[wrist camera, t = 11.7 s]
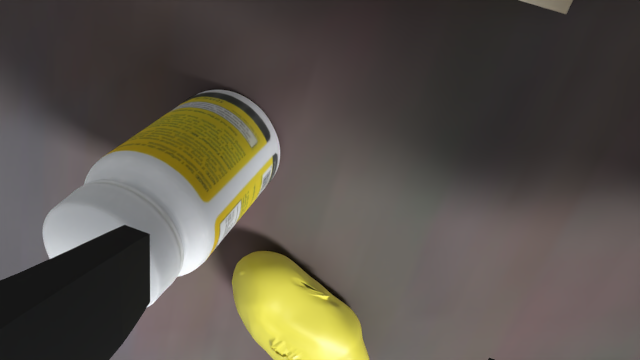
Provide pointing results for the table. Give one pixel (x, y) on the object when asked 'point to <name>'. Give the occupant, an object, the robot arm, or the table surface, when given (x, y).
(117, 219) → the supplement bottle
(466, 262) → the table surface
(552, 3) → the birch block
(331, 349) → the lemon
